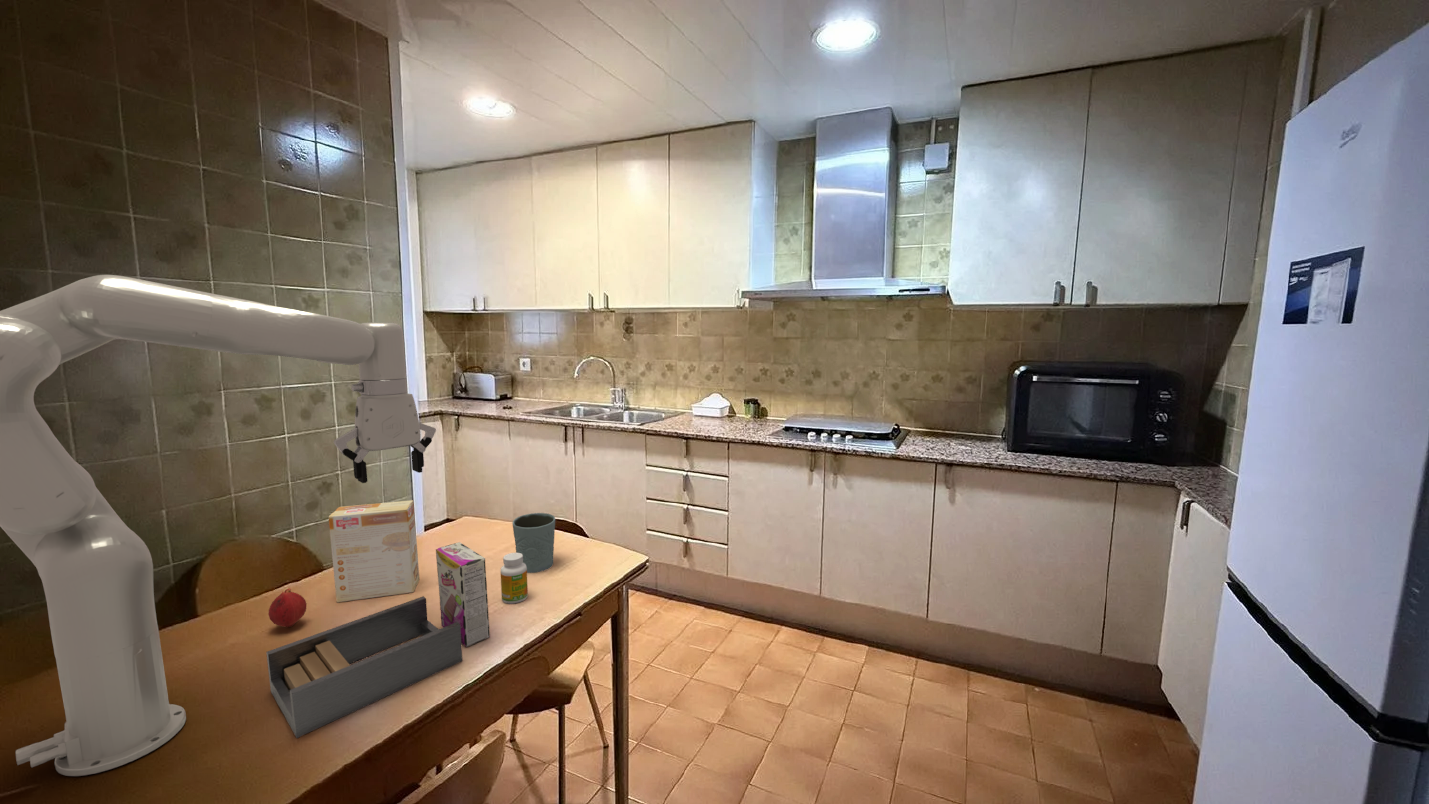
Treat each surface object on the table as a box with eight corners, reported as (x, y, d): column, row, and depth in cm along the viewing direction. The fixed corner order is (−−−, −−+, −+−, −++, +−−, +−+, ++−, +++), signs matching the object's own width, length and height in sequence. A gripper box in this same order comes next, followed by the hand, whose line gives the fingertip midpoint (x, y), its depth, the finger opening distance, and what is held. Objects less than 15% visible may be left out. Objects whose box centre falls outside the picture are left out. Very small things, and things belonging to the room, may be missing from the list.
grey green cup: (540, 553, 142) (538, 510, 140) (565, 564, 136) (564, 518, 134) (505, 567, 133) (503, 521, 132) (530, 578, 128) (529, 530, 126)
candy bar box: (439, 627, 107) (434, 548, 105) (464, 617, 111) (460, 540, 108) (465, 649, 100) (459, 565, 97) (491, 637, 103) (486, 556, 101)
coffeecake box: (420, 579, 127) (414, 499, 124) (413, 593, 120) (407, 509, 118) (346, 588, 122) (338, 505, 120) (335, 603, 116) (327, 516, 113)
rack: (296, 738, 78) (291, 693, 77) (270, 691, 88) (266, 651, 87) (462, 660, 96) (460, 624, 95) (425, 629, 106) (423, 596, 105)
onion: (287, 636, 103) (283, 597, 102) (262, 633, 104) (258, 594, 103) (315, 620, 109) (311, 583, 108) (291, 617, 110) (287, 580, 109)
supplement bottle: (512, 606, 115) (510, 563, 114) (496, 600, 118) (494, 557, 116) (533, 596, 119) (531, 554, 118) (517, 590, 122) (515, 549, 121)
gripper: (336, 394, 93) (345, 490, 95) (440, 386, 106) (445, 471, 108) (323, 390, 98) (331, 482, 100) (424, 383, 111) (429, 464, 113)
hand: (390, 476), depth 104 cm, fingers open, 9 cm apart
